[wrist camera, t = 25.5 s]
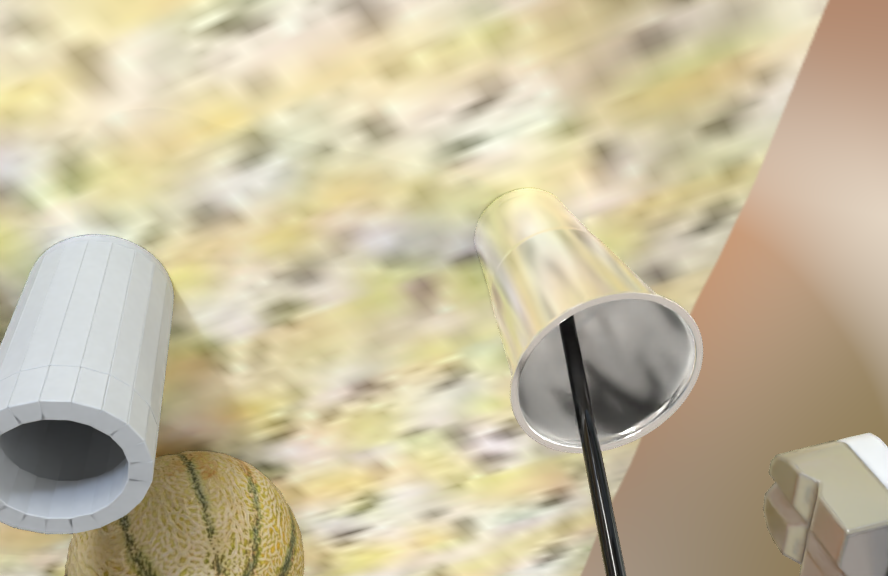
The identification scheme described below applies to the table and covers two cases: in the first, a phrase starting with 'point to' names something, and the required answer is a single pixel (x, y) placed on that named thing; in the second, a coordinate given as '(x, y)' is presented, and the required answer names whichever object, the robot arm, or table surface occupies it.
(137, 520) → the cantaloupe
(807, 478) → the robot arm
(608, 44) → the table surface
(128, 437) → the grey hollow cylinder
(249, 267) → the table surface
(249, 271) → the table surface
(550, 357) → the glass
